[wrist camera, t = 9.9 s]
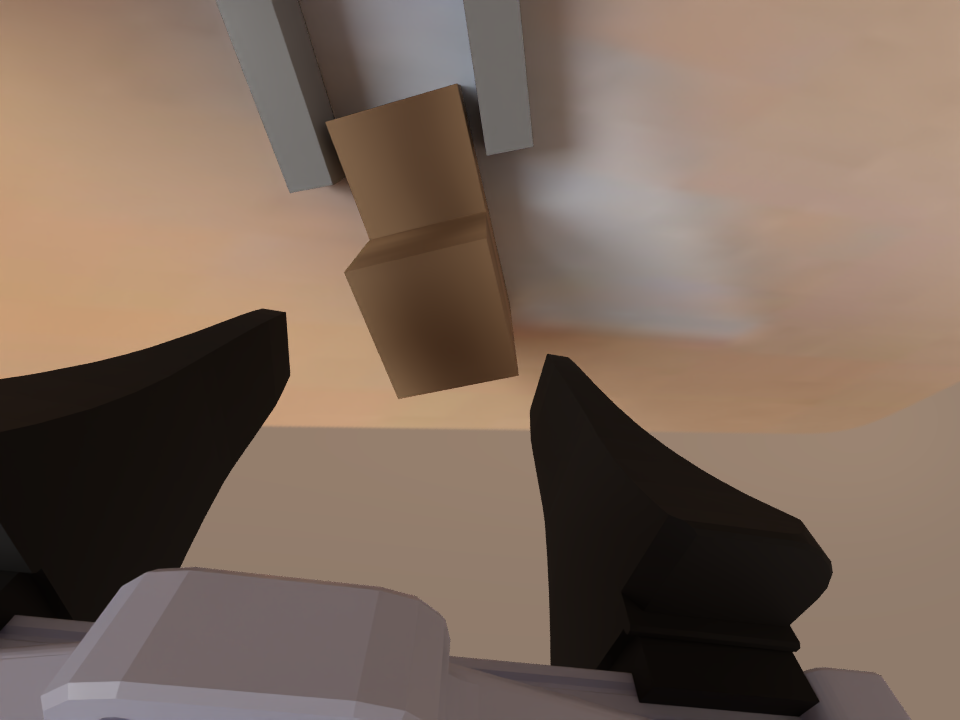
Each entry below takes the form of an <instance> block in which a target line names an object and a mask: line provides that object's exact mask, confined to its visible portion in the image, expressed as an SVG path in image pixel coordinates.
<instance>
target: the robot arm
mask: <svg viewBox="0 0 960 720" xmlns="http://www.w3.org/2000/svg"><path fill="white" fill-rule="evenodd" d="M289 377H290V365H289V350H288V335H287V321H286V312H281V311H274V310H268V309H259V310H255V311H252V312H249V313H246V314H243V315H240V316H237V317H235V318H232V319H229V320H227V321H224V322H221V323H219V324H216V325H213V326H211V327H208V328H205V329H203V330H200V331H197V332H195V333H192V334H189V335H186V336H183V337H180V338H177V339H174V340H171V341H168V342H165V343H162V344H159V345H156V346H153V347H150V348H147V349H143V350H140V351H136V352H133V353H129V354H125V355H121V356H117V357H114V358H110V359H106V360H102V361H97V362H93V363H88V364H83V365H78V366H73V367H68V368H63V369H58V370H53V371H47V372H42V373H37V374H31V375H25V376H18V377H12V378H5V379H0V720H911V718H910V717H909V716H908V714H907V713H906V711H905V710H904V708H903V707H902V705H901V704H900V702H899V701H898V700H897V698H896V697H895V695H894V694H893V692H892V691H891V690H890V688H889V686H888V685H887V683H886V682H885V681H884V679H883V678H882V676H881V675H879V674H876V673H874V672H865V671H855V670H846V669H836V668H814V669H810V670H806V671H804V672H803V671H802V669H801V667H800V665H799V663H798V662H797V660H796V658H795V656H794V654H793V652H797V651H798V650H799V649H800V642H799V640H798V639H797V637H796V636H795V633H794V632H793V630H792V628H791V627H790V624H791V623H792V622H793V621H795V620H796V619H797V618H798V617H799V616H800V615H801V614H802V613H803V612H804V611H805V610H806V609H808V608H809V607H810V606H811V605H812V604H813V603H814V602H815V601H816V600H817V599H818V598H819V597H820V596H821V594H823V592H824V591H825V590H826V589H827V587H828V584H829V581H830V579H831V576H832V573H833V572H832V565H831V561H830V559H829V558H828V557H827V555H826V554H825V553H824V551H823V550H822V548H821V547H820V546H819V544H818V543H817V542H816V540H815V539H814V538H813V536H812V535H811V534H810V532H809V531H808V529H807V528H806V527H805V525H804V524H803V523H802V521H801V520H800V519H797V518H795V517H793V516H791V515H789V514H787V513H785V512H783V511H780V510H778V509H776V508H774V507H772V506H770V505H768V504H765V503H763V502H761V501H759V500H757V499H755V498H753V497H751V496H749V495H747V494H745V493H743V492H741V491H739V490H737V489H735V488H733V487H732V486H730V485H728V484H726V483H724V482H722V481H720V480H719V479H717V478H715V477H713V476H712V475H710V474H708V473H706V472H705V471H703V470H701V469H700V468H698V467H697V466H695V465H694V464H692V463H690V462H689V461H687V460H686V459H684V458H683V457H681V456H679V455H678V454H676V453H675V452H674V451H672V450H671V449H669V448H668V447H666V446H665V445H664V444H662V443H661V442H660V441H658V440H657V439H656V438H654V437H653V436H652V435H650V434H649V433H648V432H646V431H645V430H644V429H643V428H641V427H640V426H639V425H638V424H636V423H635V422H634V421H633V420H632V419H631V418H630V417H629V416H627V415H626V414H625V413H624V412H623V411H622V410H621V409H620V408H618V407H617V406H616V405H615V404H614V403H613V402H612V401H611V400H610V399H609V398H608V397H607V396H606V395H605V394H604V393H603V392H602V391H601V390H600V389H599V388H598V387H597V386H596V385H595V384H594V383H593V382H592V381H591V380H590V379H589V377H588V376H587V375H586V374H585V373H584V372H583V371H582V370H581V369H580V368H579V367H578V366H577V365H576V364H575V363H574V362H573V361H572V360H571V359H570V358H568V357H563V356H557V355H551V354H547V356H546V360H545V363H544V366H543V369H542V373H541V376H540V379H539V382H538V386H537V389H536V392H535V396H534V399H533V402H532V405H531V409H530V431H531V443H532V449H533V455H534V461H535V466H536V472H537V477H538V483H539V489H540V494H541V500H542V505H543V512H544V520H545V530H546V545H547V560H548V581H549V606H550V607H549V608H550V649H551V650H550V653H551V666H550V665H540V664H529V663H518V662H508V661H497V660H487V659H477V658H465V657H455V656H449V651H450V637H449V633H448V629H447V625H446V620H445V619H444V618H443V616H442V615H441V614H440V613H439V612H437V611H435V610H434V609H433V608H432V607H430V606H429V605H428V604H426V603H425V602H423V601H422V600H421V599H419V598H418V597H416V596H413V595H410V594H405V593H402V592H398V591H394V590H391V589H386V588H383V587H376V586H366V585H358V584H349V583H339V582H330V581H321V580H311V579H301V578H293V577H283V576H274V575H265V574H255V573H246V572H236V571H227V570H218V569H208V568H198V567H189V568H180V567H181V565H182V563H183V560H184V558H185V556H186V554H187V552H188V550H189V548H190V546H191V544H192V542H193V540H194V538H195V536H196V534H197V532H198V530H199V528H200V526H201V524H202V522H203V520H204V518H205V516H206V514H207V512H208V510H209V509H210V507H211V505H212V503H213V501H214V499H215V497H216V496H217V494H218V492H219V490H220V488H221V486H222V484H223V483H224V481H225V479H226V478H227V476H228V475H229V473H230V471H231V470H232V468H233V467H234V465H235V464H236V462H237V461H238V459H239V458H240V456H241V455H242V454H243V452H244V451H245V449H246V448H247V447H248V445H249V444H250V442H251V441H252V439H253V438H254V436H255V435H256V433H257V432H258V431H259V429H260V428H261V426H262V425H263V423H264V422H265V420H266V419H267V418H268V416H269V415H270V413H271V412H272V410H273V409H274V407H275V406H276V404H277V402H278V400H279V398H280V396H281V394H282V392H283V390H284V388H285V386H286V383H287V381H288V379H289Z"/></svg>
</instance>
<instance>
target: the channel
mask: <svg viewBox="0 0 960 720" xmlns="http://www.w3.org/2000/svg"><path fill="white" fill-rule="evenodd" d="M463 2H464V9H465V16H466V22H467V29H468V36H469V42H470V49H471V56H472V62H473V69H474V76H475V82H476V89H477V96H478V102H479V109H480V116H481V122H482V129H483V136H484V142H485V149H486V156H487V155H493V154H498V153H503V152H508V151H514V150H519V149H524V148H530V147H533V138H532V127H531V117H530V107H529V96H528V86H527V76H526V65H525V55H524V44H523V34H522V24H521V13H520V3H519V0H463ZM216 3H217V6H218V8H219V11H220V13H221V16H222V19H223V21H224V24H225V26H226V29H227V31H228V34H229V37H230V39H231V42H232V44H233V47H234V50H235V52H236V55H237V57H238V60H239V63H240V65H241V68H242V70H243V73H244V75H245V78H246V81H247V83H248V86H249V88H250V91H251V94H252V96H253V99H254V101H255V104H256V107H257V109H258V112H259V114H260V117H261V120H262V122H263V125H264V127H265V130H266V132H267V135H268V138H269V140H270V143H271V145H272V148H273V151H274V153H275V156H276V158H277V161H278V164H279V166H280V169H281V171H282V174H283V176H284V179H285V182H286V184H287V187H288V189H289V192H290V193H293V192H298V191H303V190H309V189H314V188H319V187H324V186H330V185H333V184H335V183H337V182H339V181H340V180H342V179H344V178H345V177H346V176H345V173H344V170H343V168H342V165H341V162H340V160H339V157H338V154H337V152H336V149H335V146H334V144H333V141H332V139H331V136H330V133H329V131H328V128H327V125H326V123H325V122H327V121H330V120H334V116H333V113H332V109H331V106H330V103H329V100H328V96H327V93H326V90H325V87H324V83H323V80H322V77H321V74H320V70H319V67H318V64H317V61H316V57H315V54H314V51H313V48H312V44H311V41H310V38H309V35H308V31H307V28H306V25H305V22H304V18H303V15H302V12H301V9H300V5H299V2H298V0H216Z"/></svg>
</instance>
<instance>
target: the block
mask: <svg viewBox="0 0 960 720" xmlns="http://www.w3.org/2000/svg"><path fill="white" fill-rule="evenodd" d="M325 123H326V125H327V128H328V131H329V133H330V136H331V139H332V141H333V144H334V146H335V149H336V152H337V154H338V157H339V160H340V162H341V165H342V168H343V170H344V173H345V176H346V178H347V181H348V183H349V186H350V189H351V191H352V194H353V197H354V199H355V202H356V205H357V207H358V210H359V212H360V215H361V218H362V220H363V223H364V226H365V228H366V231H367V234H368V236H369V239H370V240H369V242H368V243H367V244H366V245H365V247H364V248H363V249H362V250H361V252H360V253H359V254H358V255H357V257H356V258H355V259H354V260H353V262H352V263H351V264H350V266H349V267H348V268H347V269H346V271H345V272H344V273H345V276H346V278H347V280H348V283H349V285H350V287H351V290H352V292H353V294H354V297H355V299H356V301H357V304H358V306H359V308H360V311H361V313H362V315H363V318H364V320H365V322H366V325H367V327H368V329H369V332H370V334H371V336H372V339H373V341H374V343H375V346H376V348H377V350H378V353H379V355H380V357H381V360H382V362H383V364H384V367H385V369H386V371H387V374H388V376H389V378H390V381H391V383H392V385H393V388H394V390H395V392H396V395H397V397H398V399H401V398H406V397H411V396H416V395H421V394H427V393H432V392H437V391H442V390H447V389H452V388H457V387H462V386H467V385H473V384H478V383H483V382H488V381H493V380H498V379H503V378H508V377H513V376H518V375H519V374H518V366H517V359H516V351H515V343H514V335H513V327H512V319H511V311H510V304H509V300H508V295H507V291H506V286H505V282H504V277H503V273H502V268H501V264H500V259H499V255H498V251H497V246H496V242H495V237H494V233H493V228H492V224H491V219H490V215H489V210H488V206H487V202H486V197H485V193H484V188H483V184H482V179H481V175H480V170H479V166H478V161H477V157H476V153H475V148H474V144H473V139H472V135H471V130H470V126H469V121H468V117H467V112H466V108H465V103H464V99H463V95H462V90H461V86H460V85H459V84H454V85H450V86H447V87H443V88H440V89H437V90H433V91H430V92H426V93H423V94H420V95H416V96H413V97H409V98H406V99H402V100H399V101H396V102H392V103H389V104H385V105H382V106H378V107H375V108H372V109H368V110H365V111H361V112H358V113H354V114H351V115H348V116H344V117H341V118H337V119H334V120H330V121H327V122H325Z"/></svg>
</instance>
